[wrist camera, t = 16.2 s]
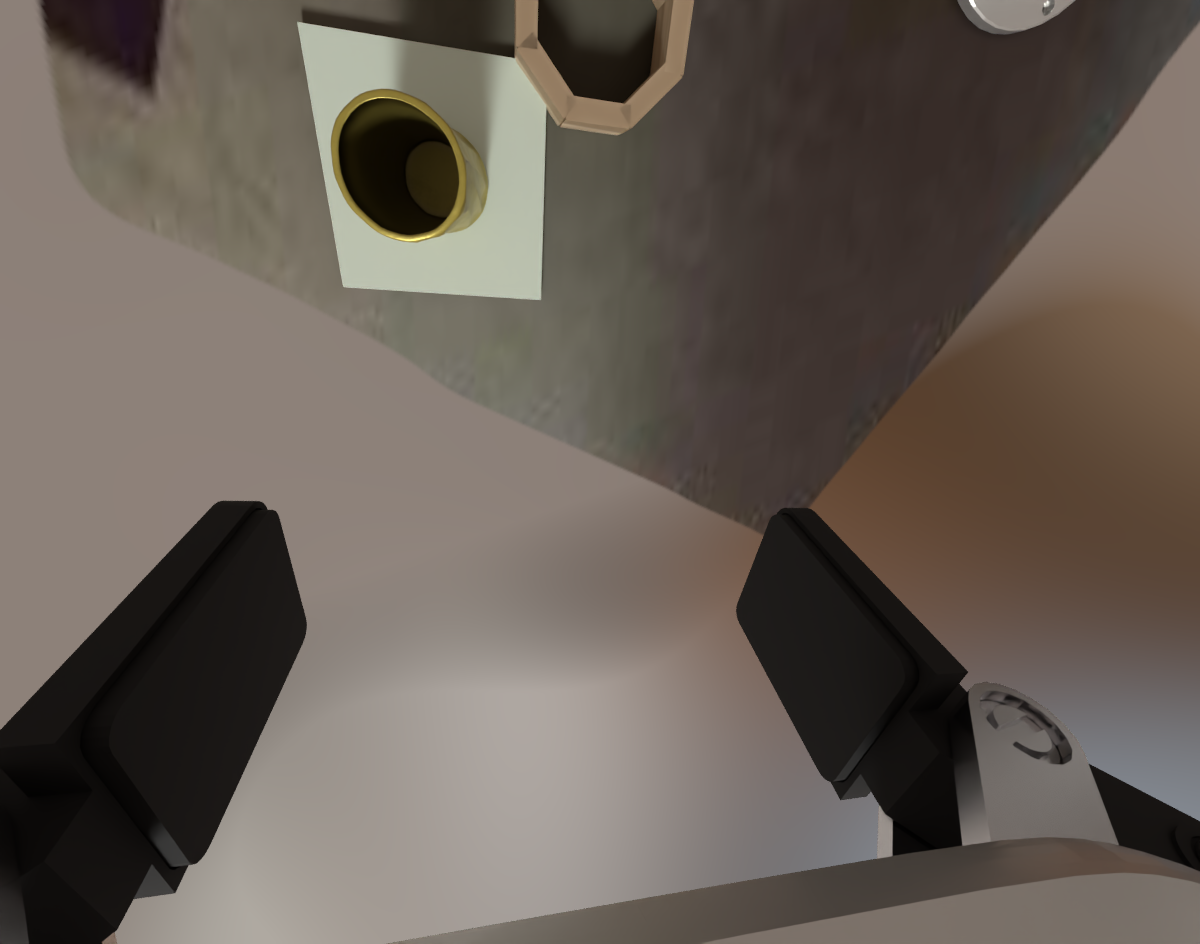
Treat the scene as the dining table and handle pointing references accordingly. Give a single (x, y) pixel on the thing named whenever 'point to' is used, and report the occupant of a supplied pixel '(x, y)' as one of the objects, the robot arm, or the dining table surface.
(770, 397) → the dining table surface
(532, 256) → the mat
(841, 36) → the dining table surface
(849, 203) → the dining table surface
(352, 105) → the vase
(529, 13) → the ring
